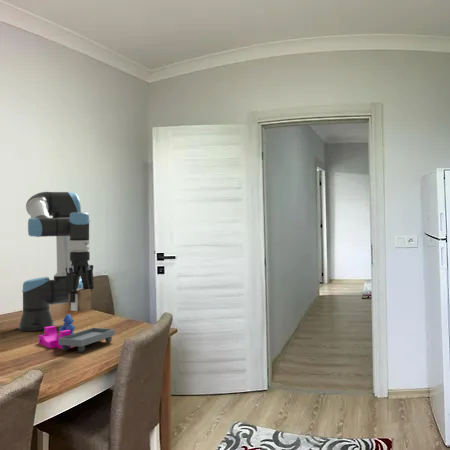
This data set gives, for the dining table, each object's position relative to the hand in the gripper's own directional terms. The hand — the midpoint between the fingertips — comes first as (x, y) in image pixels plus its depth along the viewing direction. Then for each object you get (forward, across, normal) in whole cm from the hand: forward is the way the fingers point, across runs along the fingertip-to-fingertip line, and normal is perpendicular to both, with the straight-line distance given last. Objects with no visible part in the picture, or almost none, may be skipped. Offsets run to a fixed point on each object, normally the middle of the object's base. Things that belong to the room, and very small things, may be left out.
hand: (80, 308), depth 183 cm
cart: (+16, +5, 0) cm, 17 cm away
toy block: (+17, 0, +14) cm, 22 cm away
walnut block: (0, 0, 0) cm, 0 cm away
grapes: (+17, +7, +14) cm, 23 cm away
